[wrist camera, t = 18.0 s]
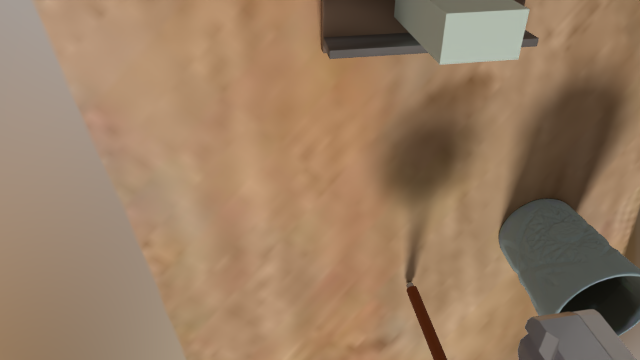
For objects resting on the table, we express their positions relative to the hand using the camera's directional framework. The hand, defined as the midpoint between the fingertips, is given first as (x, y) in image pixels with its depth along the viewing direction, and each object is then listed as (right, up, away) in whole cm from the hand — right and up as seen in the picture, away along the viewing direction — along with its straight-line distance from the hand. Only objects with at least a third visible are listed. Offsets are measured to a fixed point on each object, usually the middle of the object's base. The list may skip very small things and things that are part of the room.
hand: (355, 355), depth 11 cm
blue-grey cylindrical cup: (+23, -2, +44) cm, 49 cm away
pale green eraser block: (+7, +18, +26) cm, 32 cm away
